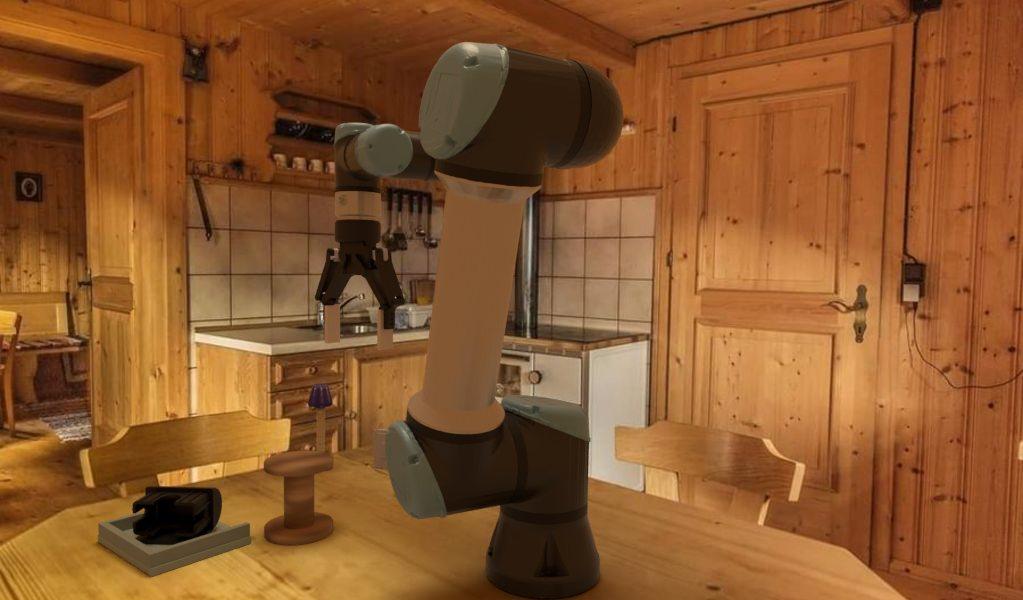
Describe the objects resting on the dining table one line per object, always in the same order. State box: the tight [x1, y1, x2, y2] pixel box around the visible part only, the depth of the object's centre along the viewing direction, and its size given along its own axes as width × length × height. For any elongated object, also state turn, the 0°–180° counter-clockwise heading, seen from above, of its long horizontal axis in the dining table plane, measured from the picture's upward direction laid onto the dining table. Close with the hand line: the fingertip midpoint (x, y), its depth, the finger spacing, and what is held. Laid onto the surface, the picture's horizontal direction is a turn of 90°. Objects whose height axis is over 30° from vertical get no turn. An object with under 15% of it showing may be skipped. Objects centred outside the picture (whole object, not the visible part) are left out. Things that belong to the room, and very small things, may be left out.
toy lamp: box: [307, 383, 334, 470], centre depth 135 cm, size 5×5×17 cm
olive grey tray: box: [97, 510, 252, 578], centre depth 100 cm, size 17×14×3 cm
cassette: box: [373, 428, 388, 470], centre depth 137 cm, size 12×2×8 cm, turn 86°
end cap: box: [131, 485, 223, 545], centre depth 100 cm, size 10×7×7 cm
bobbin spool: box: [263, 450, 334, 546], centre depth 104 cm, size 10×10×11 cm
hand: (357, 346), depth 117 cm, fingers open, 13 cm apart
